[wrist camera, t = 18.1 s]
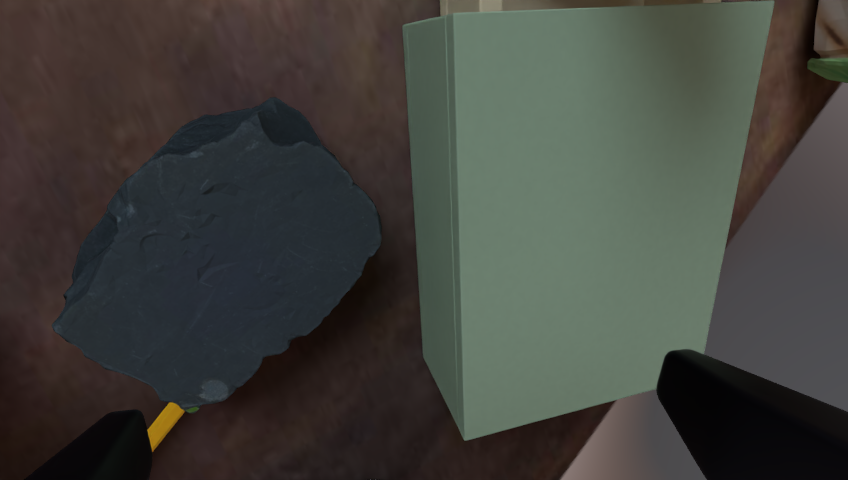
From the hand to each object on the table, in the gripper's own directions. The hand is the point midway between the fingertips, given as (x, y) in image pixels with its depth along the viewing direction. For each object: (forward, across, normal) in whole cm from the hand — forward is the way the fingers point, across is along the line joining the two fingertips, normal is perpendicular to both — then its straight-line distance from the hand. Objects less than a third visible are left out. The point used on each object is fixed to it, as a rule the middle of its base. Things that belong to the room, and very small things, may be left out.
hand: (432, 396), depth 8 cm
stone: (+13, +5, +2) cm, 14 cm away
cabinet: (+14, -8, +1) cm, 16 cm away
